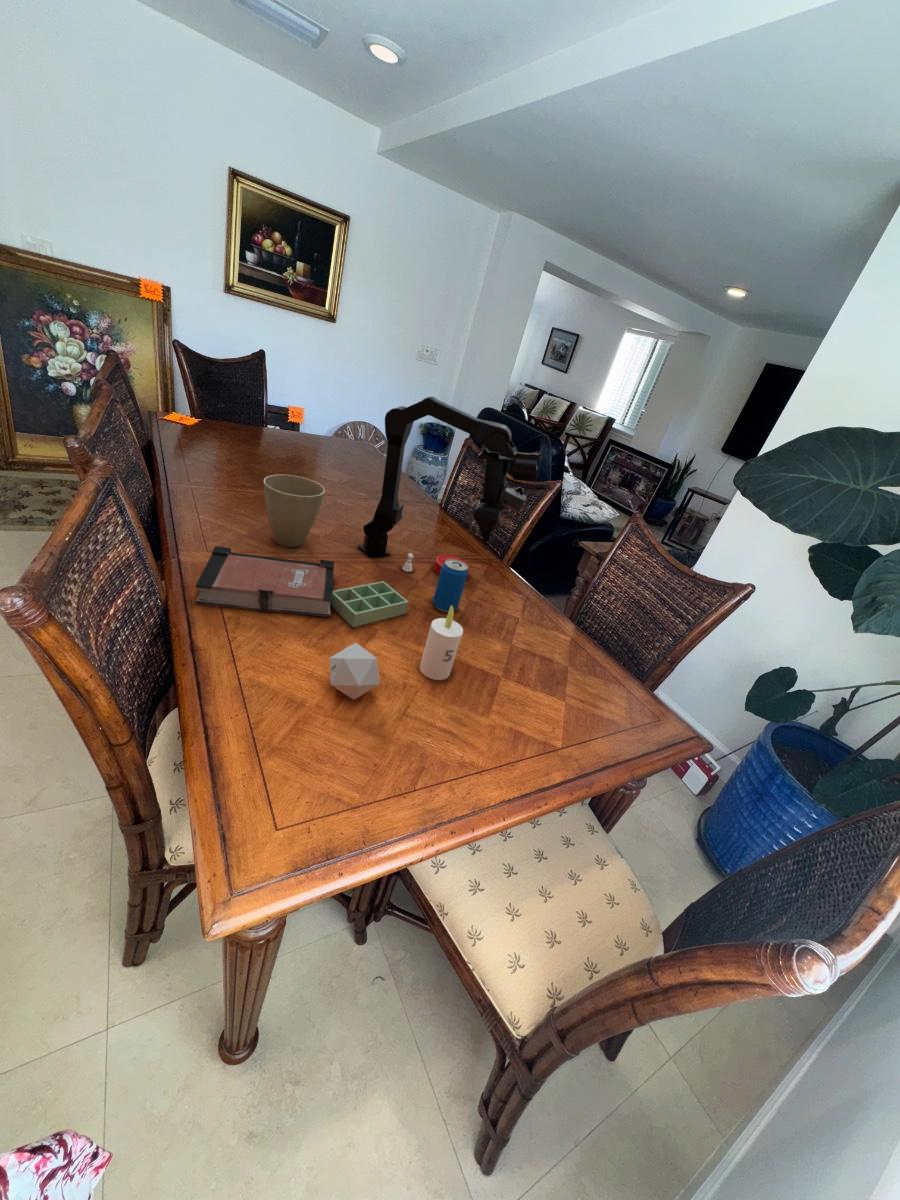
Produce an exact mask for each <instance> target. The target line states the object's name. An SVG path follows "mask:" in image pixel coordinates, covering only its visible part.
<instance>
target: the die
mask: <svg viewBox="0 0 900 1200" xmlns="http://www.w3.org/2000/svg"><path fill="white" fill-rule="evenodd" d="M328 660H329V676H330V677H329V678H330V679H329V681H330V685H331V686H332V687H333V688H334V689H336V690H338V691H339V692H340V693H342V694H344V695H345V696H347V697H348V698H350V699H351V700H352V701H355V700H356V699H358V698H359V697H361V696H363V695H365V694H366V693H367V692H369V691H371V690H373V689H375V688H376V687H378V686H380V685H381V682H380V681H381V680H380V672H379V665H378V658H377V657H376V656H374V655H373V654H372V653H371V652H369V651H368V650H367V649H365V648H364V647H363V646H361V645H360V644H358V643H357V642H353V644H351V645H349V646H348V647H346V648H344V649H342V650H341V651H339V652H338V653H335V654H333V655H331V656H330V657H329V659H328Z"/></svg>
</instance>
